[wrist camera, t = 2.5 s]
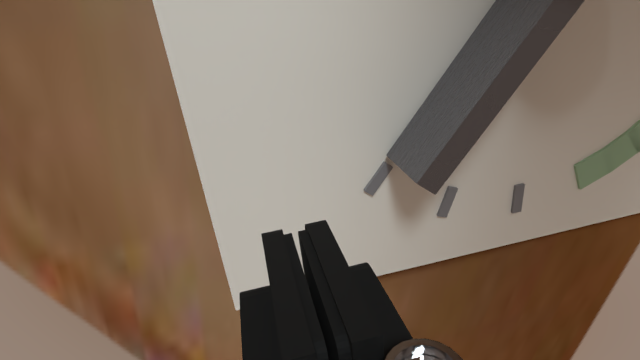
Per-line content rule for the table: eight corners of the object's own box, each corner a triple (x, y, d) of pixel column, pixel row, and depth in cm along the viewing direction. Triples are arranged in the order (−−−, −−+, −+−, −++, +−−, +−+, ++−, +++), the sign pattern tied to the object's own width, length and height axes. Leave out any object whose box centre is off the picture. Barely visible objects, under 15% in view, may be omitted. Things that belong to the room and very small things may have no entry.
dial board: (118, -149, 12) (106, -166, 11) (847, -189, 17) (896, -204, 15) (235, 293, 20) (236, 312, 19) (708, 182, 24) (733, 192, 23)
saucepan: (565, -174, 13) (741, -267, 9) (629, -84, 15) (802, -121, 10) (355, 136, 16) (405, 187, 12) (429, 181, 18) (497, 240, 13)
